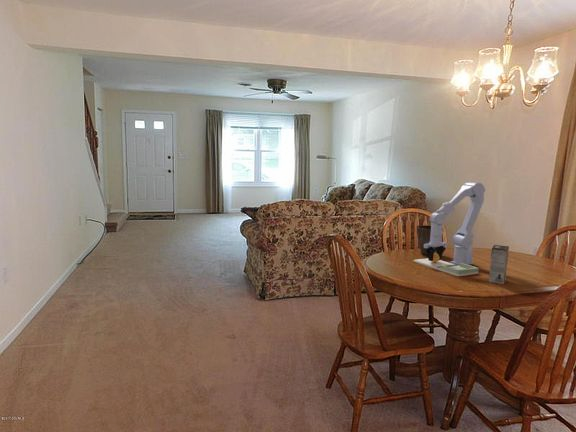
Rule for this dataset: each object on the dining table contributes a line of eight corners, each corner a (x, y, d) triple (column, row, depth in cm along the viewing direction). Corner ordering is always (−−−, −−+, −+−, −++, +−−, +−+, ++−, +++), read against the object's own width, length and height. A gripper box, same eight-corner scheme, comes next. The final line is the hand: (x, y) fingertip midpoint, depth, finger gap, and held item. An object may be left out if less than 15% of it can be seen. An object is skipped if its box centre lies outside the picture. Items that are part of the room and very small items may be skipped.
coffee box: (490, 277, 189) (493, 244, 187) (505, 279, 186) (509, 246, 184) (488, 282, 182) (491, 247, 180) (504, 284, 178) (507, 249, 176)
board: (432, 259, 222) (433, 254, 222) (478, 273, 196) (478, 268, 195) (413, 261, 217) (413, 256, 216) (457, 276, 190) (458, 270, 189)
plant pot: (434, 251, 244) (436, 225, 242) (445, 256, 230) (447, 229, 227) (411, 250, 244) (412, 225, 241) (420, 256, 229) (422, 229, 227)
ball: (434, 260, 215) (434, 251, 215) (441, 262, 211) (442, 253, 210) (427, 261, 213) (427, 252, 213) (434, 263, 209) (434, 254, 208)
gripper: (440, 233, 217) (438, 257, 219) (420, 234, 211) (418, 259, 213) (450, 235, 210) (448, 260, 212) (430, 237, 204) (428, 262, 206)
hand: (434, 260), depth 212 cm, fingers closed on ball, 5 cm apart
